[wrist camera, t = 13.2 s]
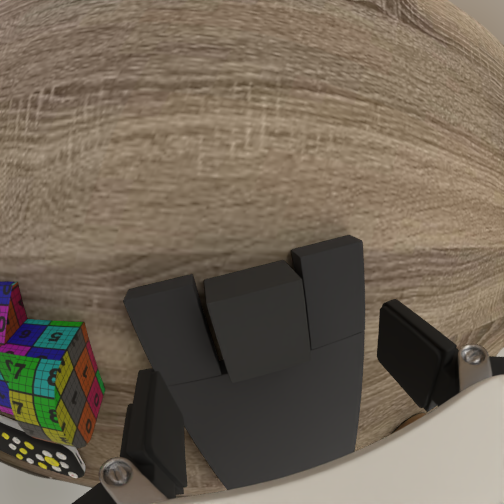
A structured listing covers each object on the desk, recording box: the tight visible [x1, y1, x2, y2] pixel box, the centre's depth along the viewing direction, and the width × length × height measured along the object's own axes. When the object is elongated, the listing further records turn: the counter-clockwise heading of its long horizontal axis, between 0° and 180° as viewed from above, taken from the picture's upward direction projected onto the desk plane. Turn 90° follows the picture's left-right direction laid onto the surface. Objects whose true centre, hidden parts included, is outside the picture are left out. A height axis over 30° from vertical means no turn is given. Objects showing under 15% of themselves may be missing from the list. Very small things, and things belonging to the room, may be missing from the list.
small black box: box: [204, 260, 311, 383], centre depth 15 cm, size 5×4×3 cm
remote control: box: [0, 415, 86, 478], centre depth 15 cm, size 6×13×2 cm, turn 82°
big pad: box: [123, 235, 365, 490], centre depth 18 cm, size 22×13×2 cm, turn 11°
